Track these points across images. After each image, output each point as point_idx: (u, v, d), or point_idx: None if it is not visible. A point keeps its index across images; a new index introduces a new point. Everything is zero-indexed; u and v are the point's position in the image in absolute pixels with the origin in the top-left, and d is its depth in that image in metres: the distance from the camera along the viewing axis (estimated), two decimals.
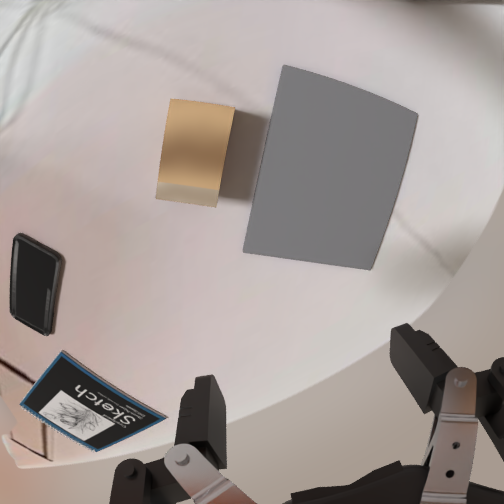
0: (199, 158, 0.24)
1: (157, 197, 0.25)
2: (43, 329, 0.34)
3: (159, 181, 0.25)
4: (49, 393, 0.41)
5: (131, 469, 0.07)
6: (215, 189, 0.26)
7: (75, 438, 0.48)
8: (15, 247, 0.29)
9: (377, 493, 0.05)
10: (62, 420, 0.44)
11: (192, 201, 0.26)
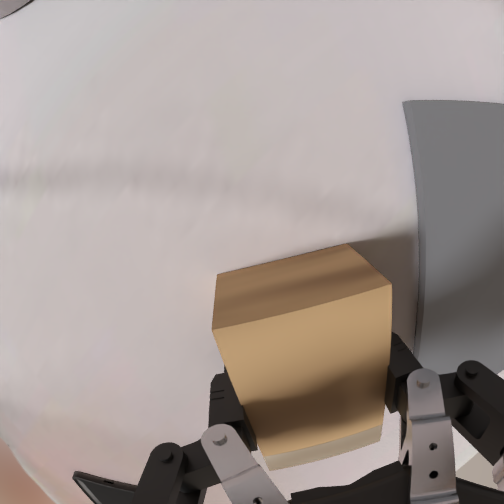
0: (336, 406, 0.10)
1: (272, 469, 0.11)
2: None
3: (266, 455, 0.11)
4: None
5: (168, 453, 0.07)
6: (376, 425, 0.11)
7: None
8: (80, 484, 0.18)
9: (377, 493, 0.05)
10: None
11: (337, 452, 0.11)
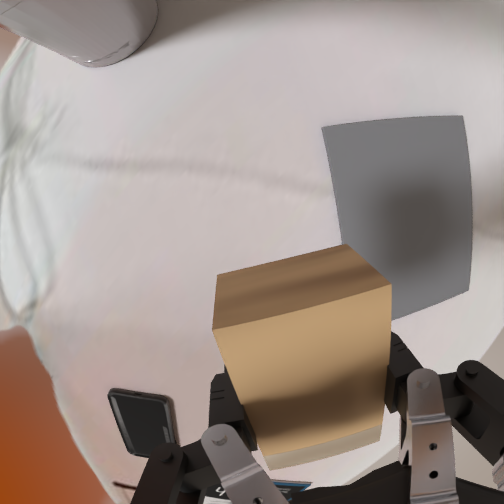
0: (336, 406, 0.10)
1: (272, 468, 0.11)
2: None
3: (266, 455, 0.11)
4: None
5: (168, 453, 0.07)
6: (376, 425, 0.11)
7: None
8: (113, 402, 0.30)
9: (377, 493, 0.05)
10: None
11: (337, 452, 0.11)
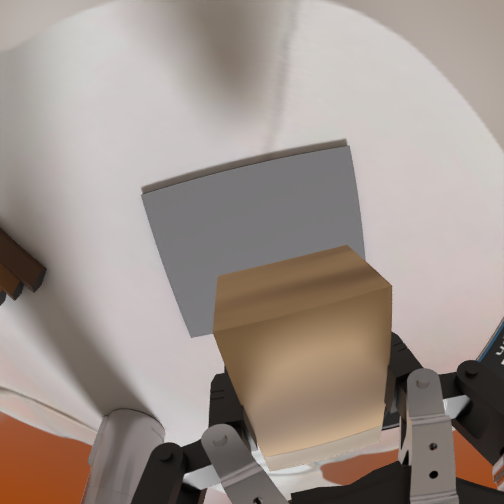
0: (336, 407, 0.10)
1: (272, 469, 0.11)
2: None
3: (266, 456, 0.11)
4: None
5: (168, 453, 0.07)
6: (376, 426, 0.11)
7: None
8: (385, 428, 0.41)
9: (377, 493, 0.05)
10: None
11: (337, 453, 0.11)
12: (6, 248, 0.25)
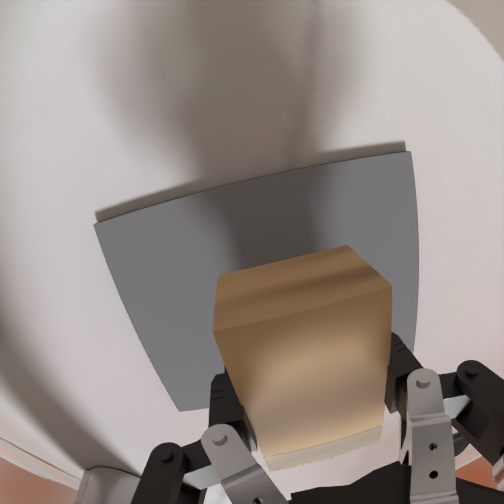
0: (336, 407, 0.10)
1: (272, 469, 0.11)
2: None
3: (266, 456, 0.11)
4: None
5: (168, 453, 0.07)
6: (376, 426, 0.11)
7: None
8: None
9: (377, 493, 0.05)
10: None
11: (337, 453, 0.11)
12: None
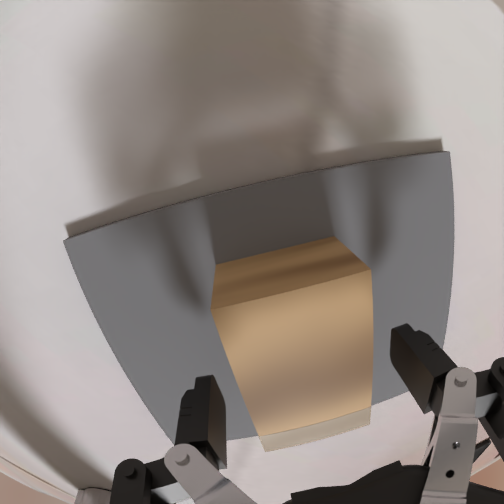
0: (325, 386, 0.11)
1: (267, 450, 0.12)
2: (485, 446, 0.26)
3: (261, 435, 0.12)
4: None
5: (131, 469, 0.07)
6: (365, 408, 0.12)
7: None
8: None
9: (377, 493, 0.05)
10: None
11: (329, 434, 0.12)
12: None
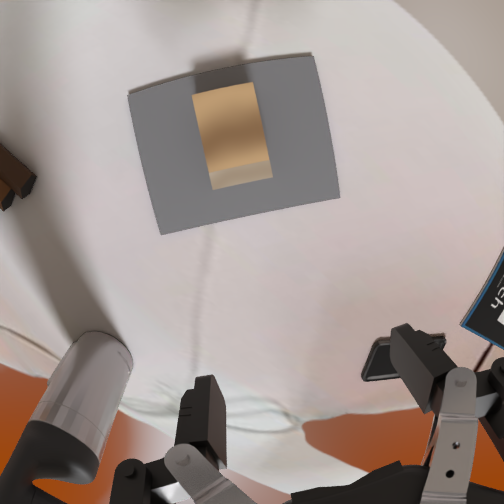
0: (240, 137, 0.25)
1: (213, 187, 0.26)
2: (440, 343, 0.40)
3: (210, 172, 0.26)
4: (501, 330, 0.41)
5: (131, 469, 0.07)
6: (266, 160, 0.26)
7: None
8: (372, 378, 0.41)
9: (377, 493, 0.05)
10: None
11: (248, 179, 0.26)
12: (3, 157, 0.25)
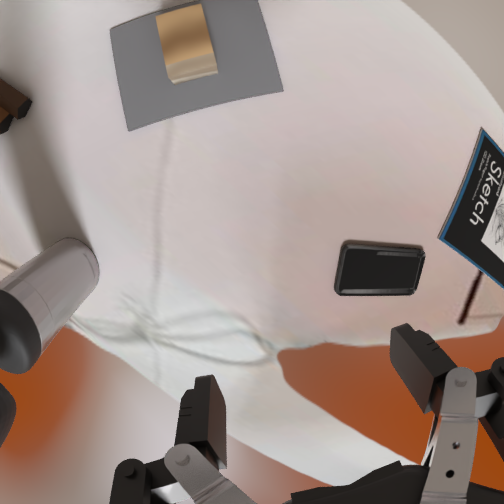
0: (190, 39, 0.26)
1: (169, 76, 0.28)
2: (419, 257, 0.41)
3: (166, 65, 0.27)
4: (488, 255, 0.42)
5: (131, 469, 0.07)
6: (210, 53, 0.27)
7: None
8: (347, 292, 0.42)
9: (377, 493, 0.05)
10: None
11: (196, 67, 0.27)
12: (6, 88, 0.27)
